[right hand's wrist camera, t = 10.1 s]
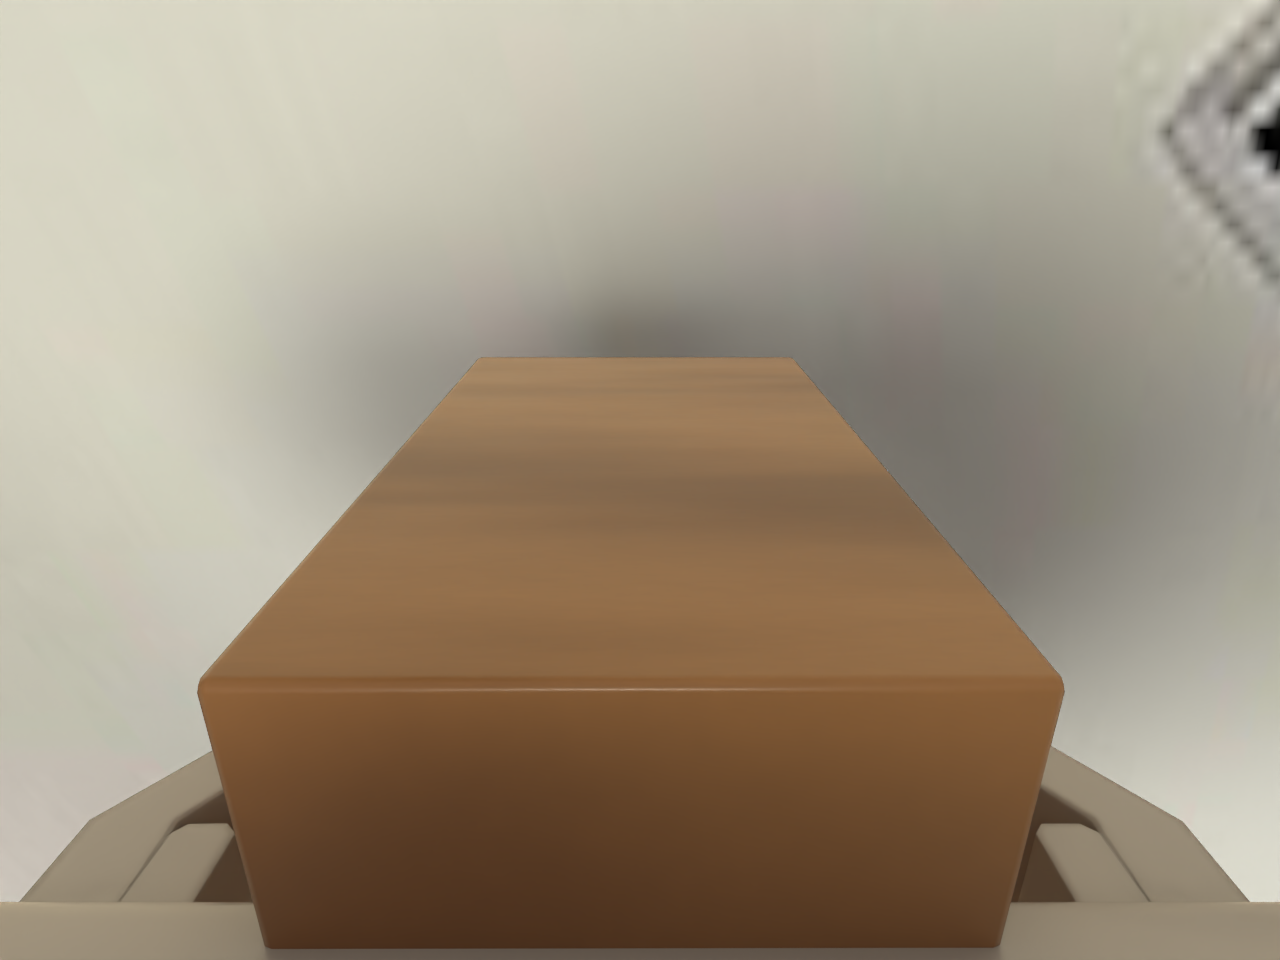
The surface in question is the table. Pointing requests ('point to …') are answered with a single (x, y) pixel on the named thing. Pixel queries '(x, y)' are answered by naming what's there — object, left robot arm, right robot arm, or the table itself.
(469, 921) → the bar
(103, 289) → the table surface
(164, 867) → the right robot arm
